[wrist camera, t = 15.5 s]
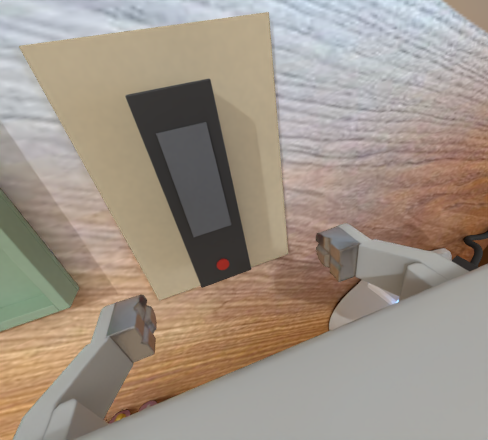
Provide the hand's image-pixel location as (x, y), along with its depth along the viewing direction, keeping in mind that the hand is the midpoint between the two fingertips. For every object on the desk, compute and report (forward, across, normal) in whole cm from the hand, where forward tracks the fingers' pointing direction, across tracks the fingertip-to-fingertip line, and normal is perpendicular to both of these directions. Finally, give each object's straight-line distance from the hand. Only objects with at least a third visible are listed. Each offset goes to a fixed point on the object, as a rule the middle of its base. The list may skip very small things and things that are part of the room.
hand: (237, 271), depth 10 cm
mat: (+10, 0, -1) cm, 10 cm away
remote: (+10, +1, -1) cm, 10 cm away
